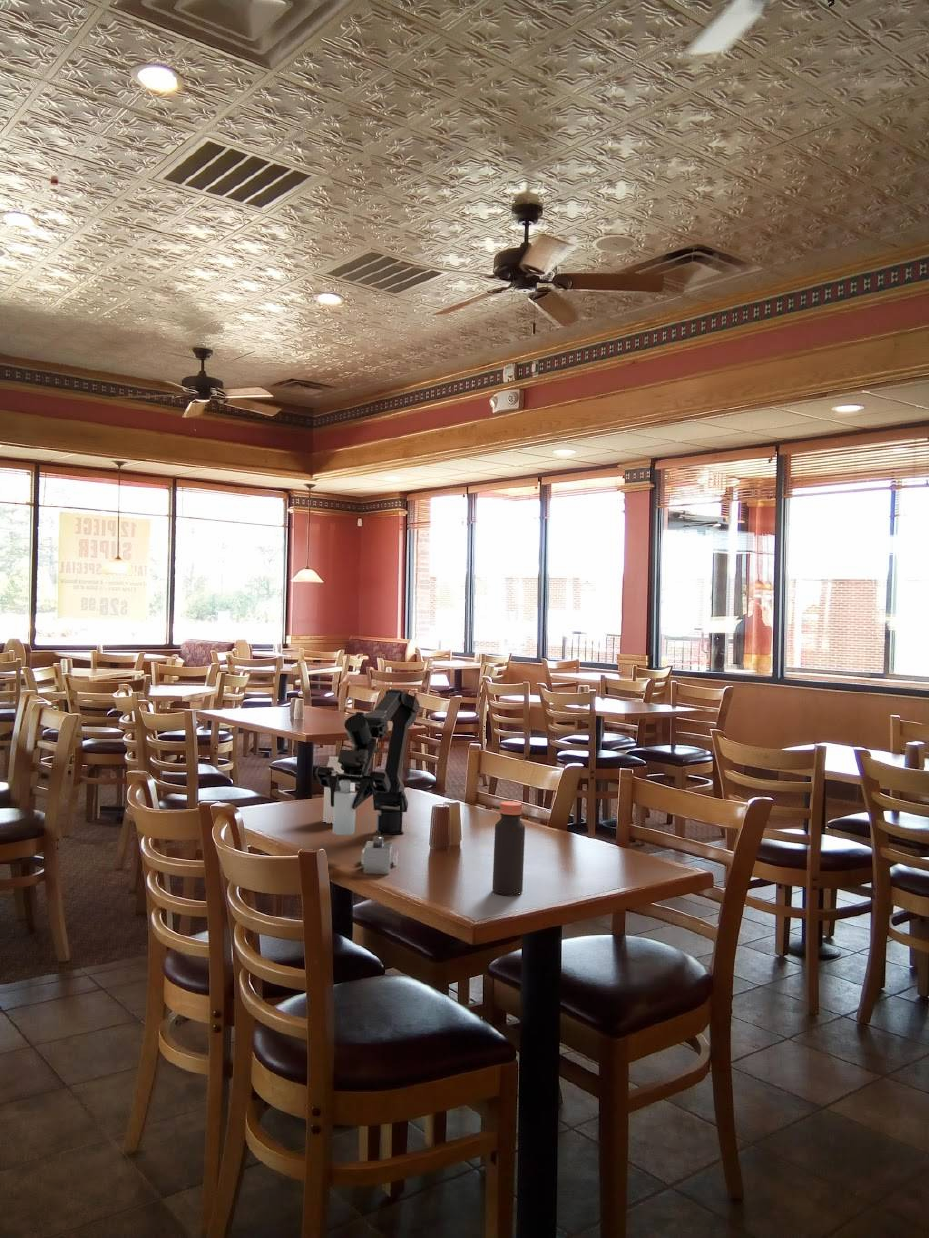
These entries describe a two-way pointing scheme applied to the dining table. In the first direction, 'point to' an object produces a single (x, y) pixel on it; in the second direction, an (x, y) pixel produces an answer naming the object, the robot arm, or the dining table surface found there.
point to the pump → (344, 810)
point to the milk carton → (327, 791)
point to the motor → (378, 856)
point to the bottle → (509, 850)
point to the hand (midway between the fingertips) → (342, 807)
